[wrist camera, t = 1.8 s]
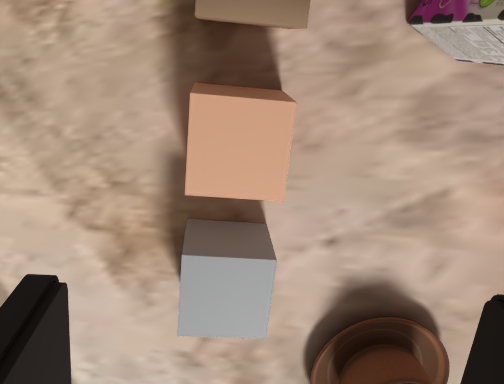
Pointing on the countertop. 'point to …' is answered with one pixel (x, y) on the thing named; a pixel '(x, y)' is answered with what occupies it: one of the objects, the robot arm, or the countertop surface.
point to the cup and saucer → (382, 355)
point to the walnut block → (256, 12)
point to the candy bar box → (463, 28)
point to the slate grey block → (226, 279)
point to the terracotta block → (238, 142)
